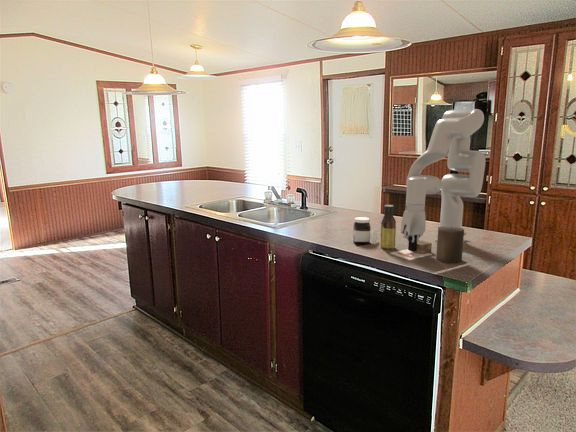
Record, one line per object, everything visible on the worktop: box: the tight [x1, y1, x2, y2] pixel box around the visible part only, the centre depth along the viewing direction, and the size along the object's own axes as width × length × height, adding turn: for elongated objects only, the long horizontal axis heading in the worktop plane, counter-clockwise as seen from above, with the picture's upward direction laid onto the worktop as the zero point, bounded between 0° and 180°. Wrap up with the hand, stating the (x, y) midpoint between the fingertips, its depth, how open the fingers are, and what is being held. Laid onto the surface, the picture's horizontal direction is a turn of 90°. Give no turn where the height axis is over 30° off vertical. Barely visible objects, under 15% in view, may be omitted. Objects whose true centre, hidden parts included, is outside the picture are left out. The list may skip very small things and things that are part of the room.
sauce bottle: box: [380, 204, 397, 251], centre depth 181 cm, size 6×6×20 cm
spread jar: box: [352, 216, 379, 246], centre depth 192 cm, size 12×11×12 cm
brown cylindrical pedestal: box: [435, 225, 465, 264], centre depth 165 cm, size 10×10×15 cm
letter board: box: [389, 248, 433, 261], centre depth 175 cm, size 14×11×1 cm
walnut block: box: [412, 239, 433, 254], centre depth 177 cm, size 6×6×4 cm
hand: (412, 250), depth 174 cm, fingers closed
